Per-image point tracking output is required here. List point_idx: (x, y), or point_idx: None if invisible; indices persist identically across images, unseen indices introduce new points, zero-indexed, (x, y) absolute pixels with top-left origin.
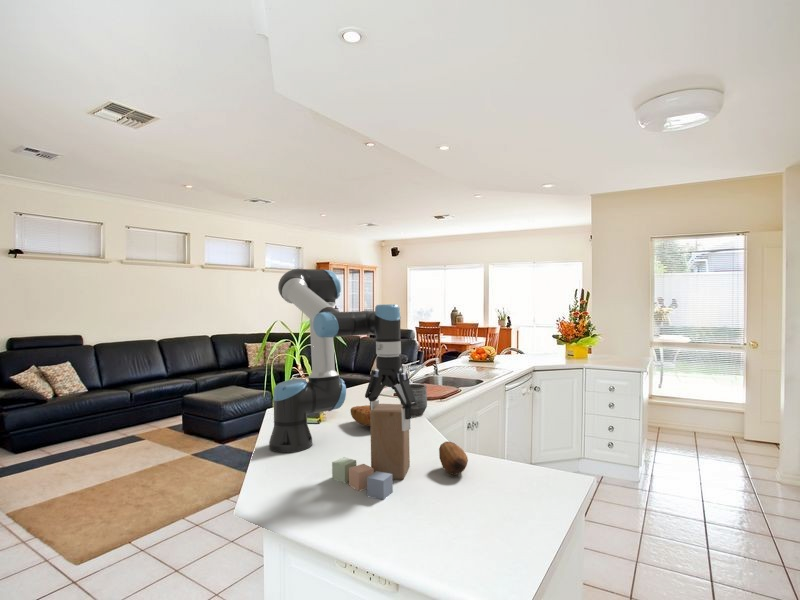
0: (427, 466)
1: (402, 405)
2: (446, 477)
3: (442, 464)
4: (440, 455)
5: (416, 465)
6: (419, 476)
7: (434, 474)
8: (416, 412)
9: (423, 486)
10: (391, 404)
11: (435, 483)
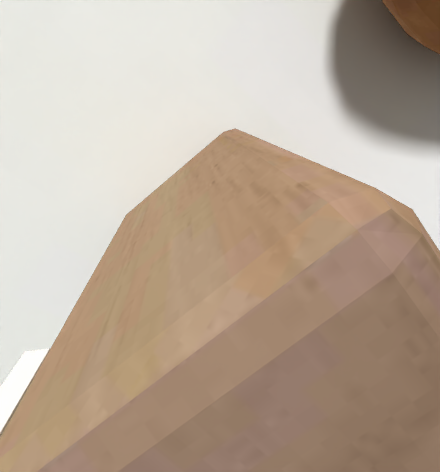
0: (277, 34)
1: (406, 363)
2: (436, 68)
3: (434, 50)
4: (425, 19)
5: (228, 71)
6: (338, 157)
7: (373, 86)
8: None
9: (417, 212)
10: (189, 460)
11: (436, 156)
